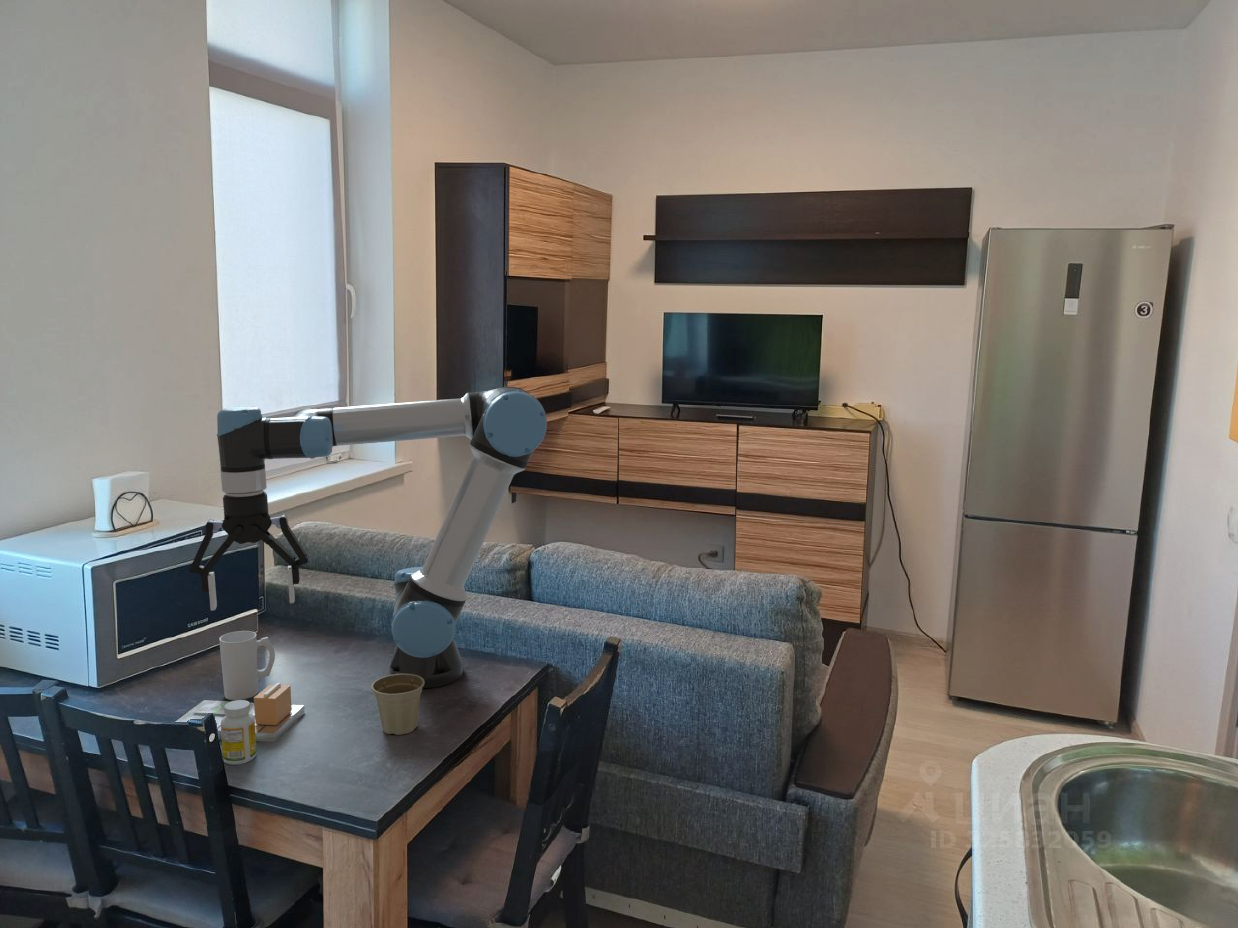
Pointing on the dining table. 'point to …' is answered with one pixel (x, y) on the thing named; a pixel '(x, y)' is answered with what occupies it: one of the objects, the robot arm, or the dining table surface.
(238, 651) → the mug
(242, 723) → the supplement bottle
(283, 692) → the cardboard box
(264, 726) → the console
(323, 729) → the dining table surface
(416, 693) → the flower pot
